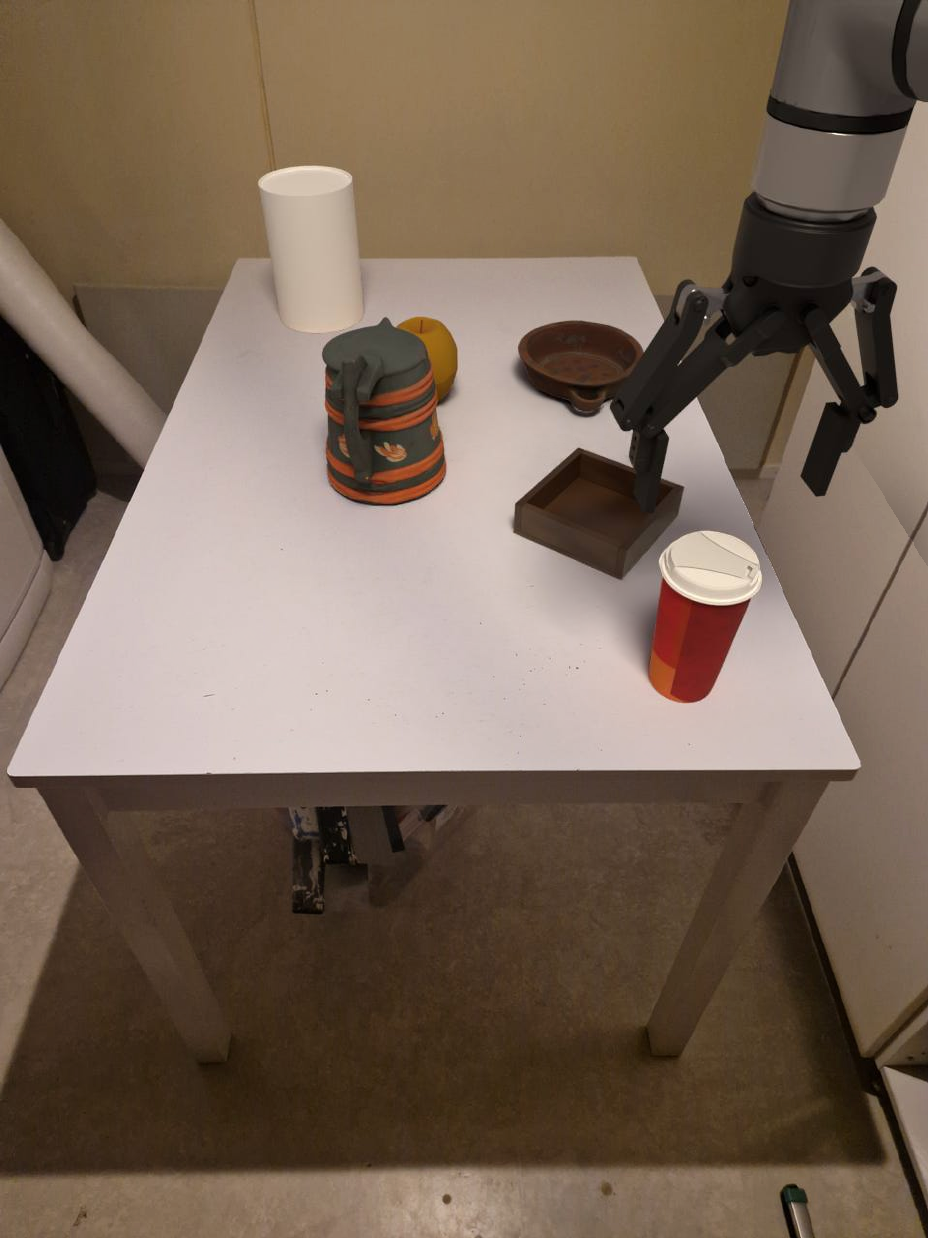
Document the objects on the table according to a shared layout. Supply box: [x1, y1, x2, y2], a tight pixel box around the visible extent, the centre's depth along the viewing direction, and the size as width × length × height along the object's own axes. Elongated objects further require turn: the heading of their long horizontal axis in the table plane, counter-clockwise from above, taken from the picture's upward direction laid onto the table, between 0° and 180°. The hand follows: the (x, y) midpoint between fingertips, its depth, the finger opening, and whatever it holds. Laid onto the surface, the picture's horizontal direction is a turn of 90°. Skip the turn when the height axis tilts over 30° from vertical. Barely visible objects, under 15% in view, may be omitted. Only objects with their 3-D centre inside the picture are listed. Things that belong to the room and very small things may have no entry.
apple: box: [395, 316, 459, 403], centre depth 110 cm, size 10×10×12 cm
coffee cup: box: [648, 530, 763, 704], centre depth 73 cm, size 8×8×15 cm
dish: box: [517, 319, 645, 413], centre depth 116 cm, size 18×22×5 cm
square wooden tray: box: [513, 446, 685, 581], centre depth 93 cm, size 14×14×4 cm
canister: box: [257, 165, 365, 334], centre depth 127 cm, size 14×14×20 cm
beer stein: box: [321, 316, 447, 505], centre depth 93 cm, size 19×15×20 cm
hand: (728, 494), depth 63 cm, fingers open, 13 cm apart
